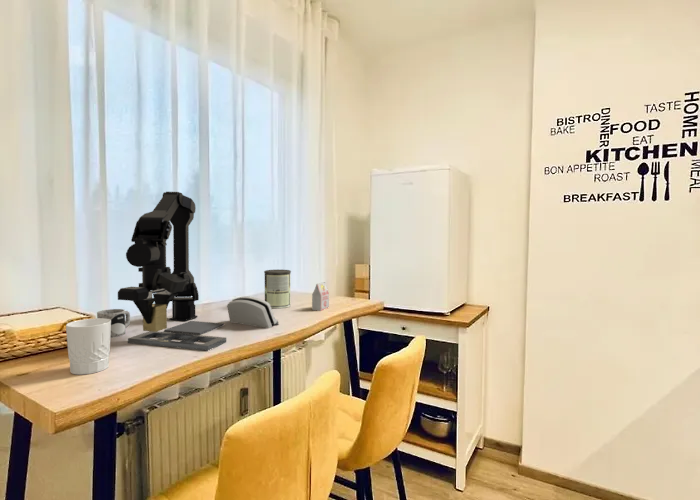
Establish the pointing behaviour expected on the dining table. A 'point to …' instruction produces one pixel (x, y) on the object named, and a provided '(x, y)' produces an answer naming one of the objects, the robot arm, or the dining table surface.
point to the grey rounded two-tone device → (251, 312)
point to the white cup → (88, 345)
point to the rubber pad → (194, 327)
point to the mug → (116, 320)
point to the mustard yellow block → (157, 318)
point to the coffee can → (277, 288)
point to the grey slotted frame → (185, 343)
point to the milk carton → (320, 297)
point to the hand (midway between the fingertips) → (155, 321)
